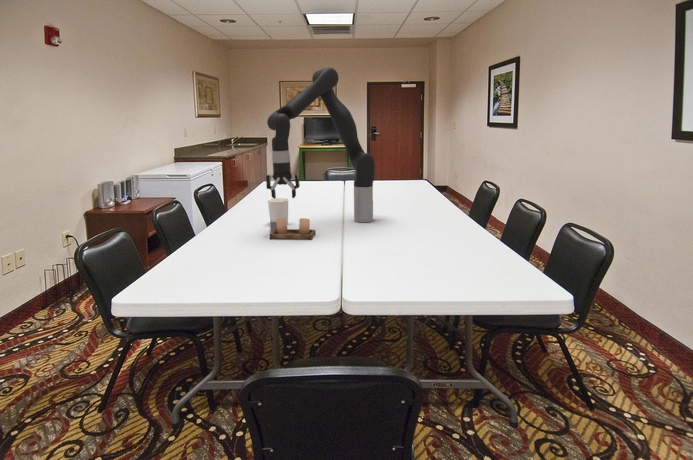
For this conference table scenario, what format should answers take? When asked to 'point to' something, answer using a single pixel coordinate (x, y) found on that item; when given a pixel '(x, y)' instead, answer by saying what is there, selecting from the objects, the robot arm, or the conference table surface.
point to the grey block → (273, 225)
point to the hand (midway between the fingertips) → (283, 198)
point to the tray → (293, 235)
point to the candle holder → (278, 208)
